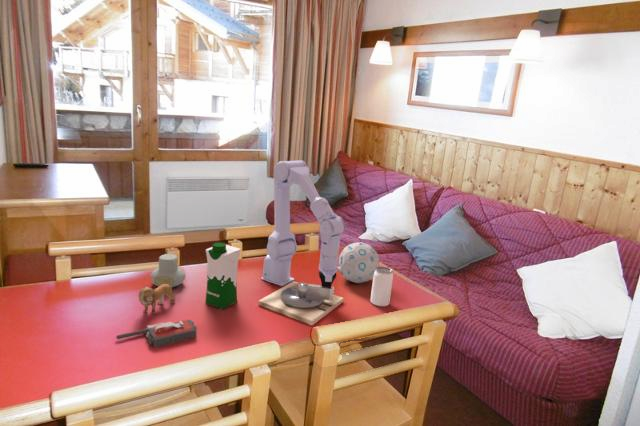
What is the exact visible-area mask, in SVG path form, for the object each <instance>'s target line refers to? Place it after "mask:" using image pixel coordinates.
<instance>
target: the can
mask: <svg viewBox="0 0 640 426" xmlns="http://www.w3.org/2000/svg"><path fill="white" fill-rule="evenodd" d="M372 279H373V280H372V286H371V292H370V293H371V294H370V302H371V304H372V305H373V306H376V307H380V308H383V307H387V306H388V305H390V300H391V295H392V287H393V281H394V280H393V279H394V273H393V269H392V268H390V267H386V266H379V267H377V268H376V271H375V272H374V277H373V278H372Z"/></svg>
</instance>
